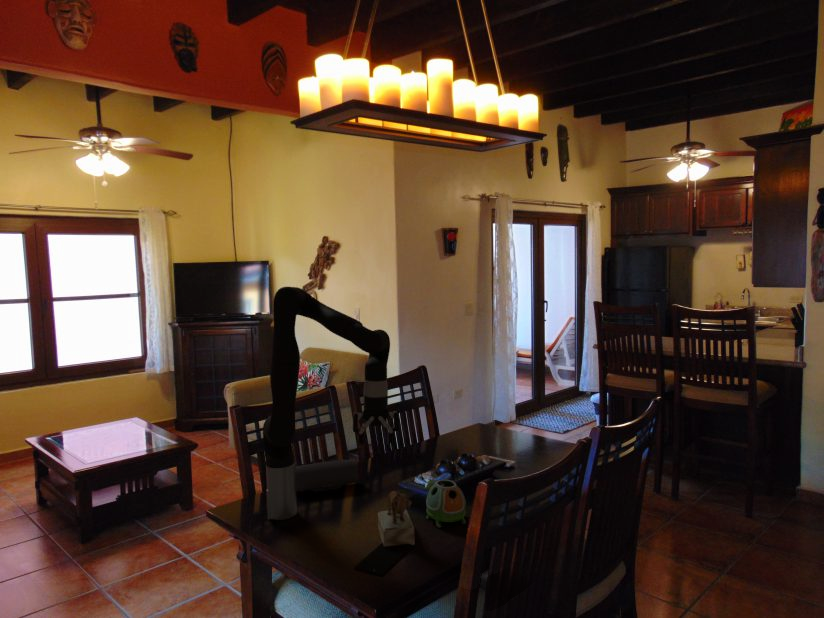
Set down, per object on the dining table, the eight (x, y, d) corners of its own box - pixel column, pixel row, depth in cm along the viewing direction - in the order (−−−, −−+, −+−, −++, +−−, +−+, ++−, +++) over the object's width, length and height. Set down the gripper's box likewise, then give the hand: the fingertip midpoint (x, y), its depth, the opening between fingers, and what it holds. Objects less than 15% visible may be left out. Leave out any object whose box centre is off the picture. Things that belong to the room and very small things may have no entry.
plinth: (383, 548, 168) (383, 529, 167) (378, 528, 180) (377, 510, 180) (414, 544, 169) (414, 526, 169) (406, 525, 182) (406, 507, 182)
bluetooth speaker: (353, 480, 221) (353, 454, 221) (359, 489, 213) (358, 462, 212) (293, 488, 215) (292, 462, 214) (296, 498, 206) (295, 470, 205)
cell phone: (413, 547, 168) (412, 544, 168) (382, 578, 152) (382, 574, 152) (386, 541, 172) (386, 538, 172) (353, 571, 156) (353, 567, 156)
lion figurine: (414, 525, 170) (413, 495, 169) (397, 528, 167) (396, 498, 167) (395, 506, 183) (394, 478, 182) (379, 509, 181) (378, 481, 180)
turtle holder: (446, 503, 198) (445, 468, 197) (473, 524, 182) (473, 486, 181) (413, 510, 193) (412, 475, 192) (438, 532, 177) (437, 494, 176)
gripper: (353, 396, 177) (353, 449, 179) (399, 395, 179) (399, 447, 181) (352, 391, 185) (352, 442, 186) (397, 390, 187) (396, 440, 188)
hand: (375, 444), depth 183 cm, fingers open, 8 cm apart
